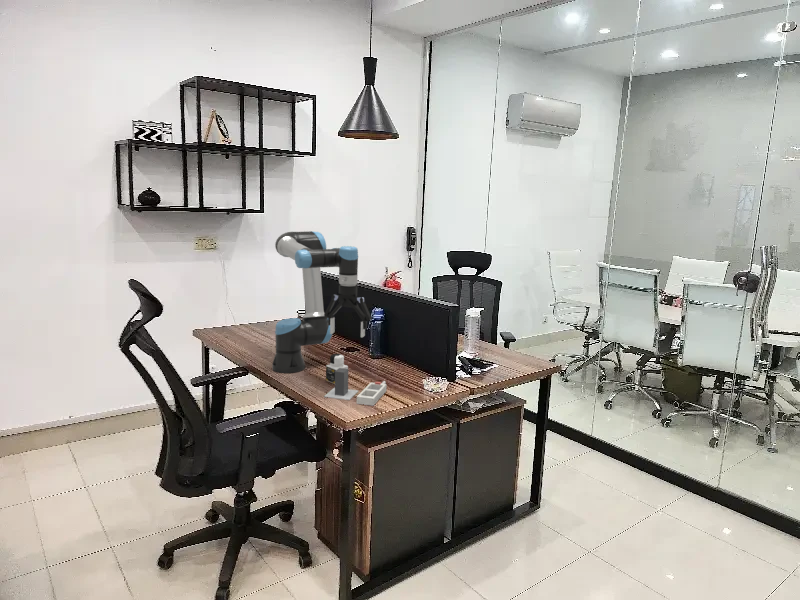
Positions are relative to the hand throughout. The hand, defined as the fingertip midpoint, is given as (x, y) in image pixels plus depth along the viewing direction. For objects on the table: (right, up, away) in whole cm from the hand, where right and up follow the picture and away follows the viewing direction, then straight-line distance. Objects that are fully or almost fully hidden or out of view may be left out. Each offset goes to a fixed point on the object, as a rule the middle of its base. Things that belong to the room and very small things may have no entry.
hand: (347, 334), depth 232 cm
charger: (-2, -24, 0) cm, 24 cm away
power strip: (+12, -25, +2) cm, 27 cm away
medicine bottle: (-6, -22, +17) cm, 28 cm away
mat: (-2, -25, 0) cm, 25 cm away
